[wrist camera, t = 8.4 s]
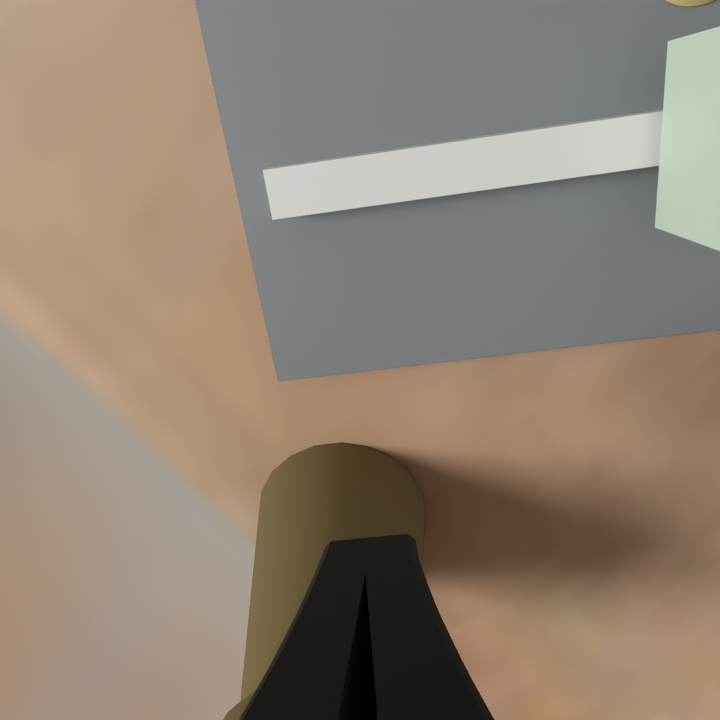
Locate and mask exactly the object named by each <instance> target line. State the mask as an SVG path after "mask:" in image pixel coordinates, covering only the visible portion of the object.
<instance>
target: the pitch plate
mask: <svg viewBox="0 0 720 720" xmlns="http://www.w3.org/2000/svg"><path fill="white" fill-rule="evenodd" d="M195 4H196V8H197V13H198V17H199V22H200V27H201V31H202V36H203V40H204V45H205V49H206V54H207V59H208V63H209V68H210V72H211V77H212V81H213V86H214V91H215V95H216V100H217V104H218V109H219V113H220V118H221V123H222V127H223V132H224V136H225V141H226V145H227V150H228V155H229V159H230V164H231V168H232V173H233V177H234V182H235V187H236V191H237V196H238V200H239V205H240V209H241V214H242V219H243V223H244V228H245V232H246V237H247V241H248V246H249V251H250V255H251V260H252V264H253V269H254V273H255V278H256V283H257V287H258V292H259V296H260V301H261V305H262V310H263V315H264V319H265V324H266V328H267V333H268V337H269V342H270V347H271V351H272V356H273V360H274V365H275V369H276V374H277V379H278V381H287V380H295V379H304V378H312V377H321V376H329V375H338V374H346V373H355V372H364V371H372V370H381V369H389V368H398V367H406V366H415V365H423V364H432V363H440V362H449V361H457V360H466V359H474V358H483V357H491V356H500V355H509V354H517V353H526V352H534V351H543V350H551V349H560V348H568V347H577V346H585V345H594V344H602V343H611V342H619V341H628V340H636V339H645V338H654V337H662V336H671V335H679V334H688V333H696V332H705V331H713V330H720V251H718V250H715V249H712V248H710V247H707V246H704V245H701V244H699V243H696V242H693V241H690V240H688V239H685V238H682V237H679V236H677V235H674V234H671V233H669V232H666V231H663V230H660V229H658V228H655V217H656V203H657V188H658V174H659V160H660V146H661V131H662V117H663V103H664V88H665V74H666V60H667V46H668V41H670V40H674V39H677V38H681V37H684V36H688V35H691V34H695V33H698V32H702V31H705V30H709V29H712V28H716V27H719V26H720V0H195Z"/></svg>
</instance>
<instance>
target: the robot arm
mask: <svg viewBox="0 0 720 720" xmlns="http://www.w3.org/2000/svg"><path fill="white" fill-rule="evenodd" d="M239 720H494V718H493V717H492V715H491V713H490V711H489V710H488V708H487V706H486V704H485V702H484V701H483V699H482V697H481V695H480V693H479V692H478V690H477V688H476V686H475V684H474V683H473V681H472V679H471V677H470V675H469V673H468V671H467V669H466V667H465V665H464V663H463V662H462V660H461V657H460V655H459V653H458V651H457V649H456V647H455V645H454V643H453V641H452V639H451V637H450V635H449V633H448V631H447V628H446V626H445V624H444V622H443V620H442V618H441V616H440V613H439V611H438V609H437V606H436V604H435V602H434V599H433V597H432V594H431V592H430V589H429V586H428V584H427V581H426V578H425V576H424V573H423V570H422V566H421V563H420V560H419V556H418V552H417V547H416V540H415V539H414V538H413V537H412V536H410V535H409V534H400V535H389V536H379V537H368V538H357V539H347V540H336V541H330V542H329V543H328V545H327V546H326V547H325V548H324V551H323V554H322V556H321V559H320V562H319V564H318V567H317V569H316V571H315V574H314V576H313V579H312V581H311V583H310V585H309V588H308V590H307V592H306V594H305V596H304V599H303V601H302V603H301V605H300V607H299V609H298V611H297V613H296V616H295V618H294V620H293V622H292V624H291V625H290V627H289V629H288V631H287V633H286V635H285V637H284V639H283V641H282V643H281V645H280V647H279V649H278V651H277V653H276V655H275V657H274V659H273V661H272V663H271V664H270V666H269V668H268V670H267V672H266V674H265V675H264V677H263V679H262V681H261V682H260V684H259V686H258V687H257V689H256V691H255V693H254V694H253V696H252V698H251V700H250V701H249V703H248V705H247V706H246V708H245V710H244V712H243V713H242V715H241V717H240V719H239Z"/></svg>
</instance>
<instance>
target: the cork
mask: <svg viewBox="0 0 720 720" xmlns="http://www.w3.org/2000/svg"><path fill="white" fill-rule="evenodd" d="M424 529H425V510H424V502H423V495H422V493H421V491H420V489H419V487H418V486H417V484H416V482H415V480H414V478H413V476H412V475H411V474H410V473H409V472H408V471H407V470H406V469H405V468H403V467H402V466H401V465H400V464H399V463H398V462H397V461H396V460H395V459H393V458H392V457H389V456H387V455H385V454H383V453H381V452H379V451H376V450H374V449H372V448H370V447H365V446H359V445H353V444H346V443H335V444H327V445H318V446H313V447H311V448H308V449H306V450H304V451H301V452H299V453H296V454H294V455H292V456H290V457H289V458H288V459H286V460H285V461H284V462H283V463H282V464H281V465H280V466H278V467H277V468H276V469H275V470H274V471H273V472H272V473H271V475H270V477H269V479H268V481H267V482H266V484H265V486H264V488H263V490H262V492H261V501H260V509H259V519H258V529H257V539H256V549H255V560H254V570H253V579H252V589H251V600H250V610H249V619H248V631H247V640H246V650H245V660H244V671H243V680H242V690H241V700H240V702H239V703H238V704H237V705H236V706H235V707H233V708H232V709H231V710H230V711H229V712H228V713H227V715H226V716H225V718H224V719H223V720H239V719H240V717H241V715H242V713H243V712H244V710H245V708H246V706H247V705H248V703H249V701H250V700H251V698H252V696H253V694H254V693H255V691H256V689H257V687H258V686H259V684H260V682H261V681H262V679H263V677H264V675H265V674H266V672H267V670H268V668H269V666H270V664H271V663H272V661H273V659H274V657H275V655H276V653H277V651H278V649H279V647H280V645H281V643H282V641H283V639H284V637H285V635H286V633H287V631H288V629H289V627H290V625H291V624H292V622H293V620H294V618H295V616H296V613H297V611H298V609H299V607H300V605H301V603H302V601H303V599H304V596H305V594H306V592H307V590H308V588H309V585H310V583H311V581H312V579H313V576H314V574H315V571H316V569H317V567H318V564H319V562H320V559H321V556H322V554H323V551H324V548H325V547H326V546H327V545H328V543H329V542H330V541H336V540H347V539H357V538H368V537H379V536H389V535H400V534H409V535H410V536H412V537H413V538H414V539H415V540H416V547H417V552H418V556H419V560H420V563H421V566H422V559H423V544H424Z"/></svg>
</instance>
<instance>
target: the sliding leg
mask: <svg viewBox="0 0 720 720" xmlns="http://www.w3.org/2000/svg"><path fill="white" fill-rule="evenodd" d="M655 228H658V229H660V230H663V231H666V232H669V233H671V234H674V235H677V236H679V237H682V238H685V239H688V240H690V241H693V242H696V243H699V244H701V245H704V246H707V247H710V248H712V249H715V250H718V251H720V26H719V27H716V28H712V29H709V30H705V31H702V32H698V33H695V34H691V35H688V36H684V37H681V38H677V39H674V40H670V41H668V46H667V60H666V74H665V88H664V103H663V117H662V131H661V146H660V160H659V174H658V188H657V203H656V217H655Z"/></svg>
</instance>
